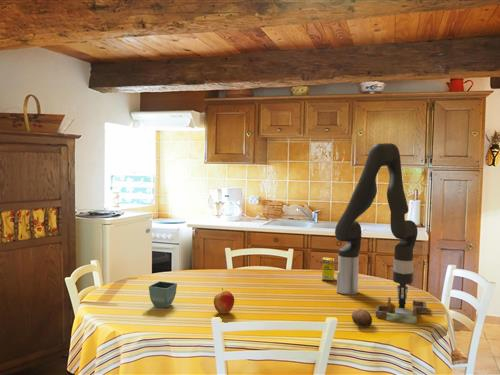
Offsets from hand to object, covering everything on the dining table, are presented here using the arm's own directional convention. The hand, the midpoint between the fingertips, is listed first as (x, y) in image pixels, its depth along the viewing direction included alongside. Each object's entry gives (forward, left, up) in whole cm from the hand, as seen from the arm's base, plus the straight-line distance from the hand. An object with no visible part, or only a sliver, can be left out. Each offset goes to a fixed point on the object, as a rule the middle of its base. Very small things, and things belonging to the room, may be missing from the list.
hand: (401, 312), depth 179 cm
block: (0, -5, -1) cm, 5 cm away
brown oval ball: (-14, -18, -1) cm, 23 cm away
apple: (-67, -24, -1) cm, 71 cm away
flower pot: (-94, -25, -1) cm, 97 cm away
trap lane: (0, +2, 0) cm, 2 cm away
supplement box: (-36, +41, -1) cm, 54 cm away
